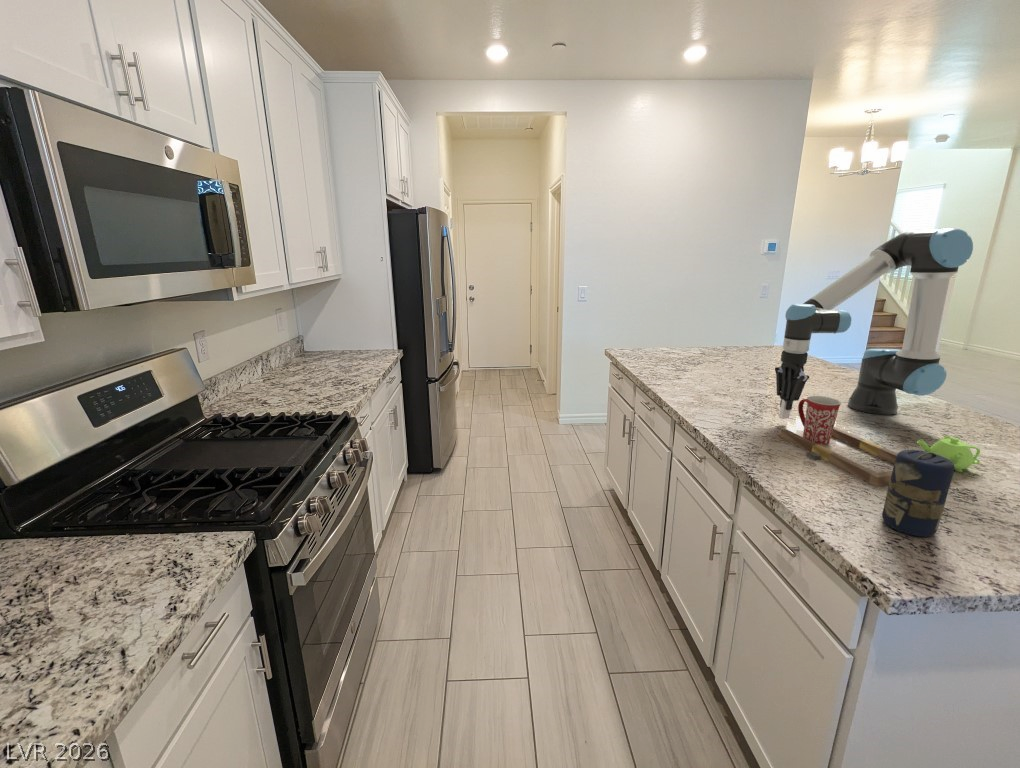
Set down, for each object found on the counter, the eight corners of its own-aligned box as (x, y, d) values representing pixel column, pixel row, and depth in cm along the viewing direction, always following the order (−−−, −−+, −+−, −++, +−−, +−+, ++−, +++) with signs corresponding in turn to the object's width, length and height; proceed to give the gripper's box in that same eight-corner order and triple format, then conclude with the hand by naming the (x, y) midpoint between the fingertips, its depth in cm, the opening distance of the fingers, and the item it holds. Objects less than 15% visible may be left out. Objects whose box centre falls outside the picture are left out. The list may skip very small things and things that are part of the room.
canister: (869, 516, 109) (886, 444, 104) (908, 514, 109) (926, 442, 104) (906, 541, 99) (927, 463, 94) (948, 539, 100) (970, 460, 95)
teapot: (986, 473, 129) (994, 444, 127) (953, 477, 127) (961, 448, 124) (941, 456, 140) (949, 429, 137) (910, 460, 137) (917, 432, 135)
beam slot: (836, 431, 159) (838, 424, 158) (944, 477, 126) (947, 469, 126) (771, 437, 154) (772, 430, 153) (866, 487, 122) (868, 478, 121)
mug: (840, 444, 148) (848, 403, 145) (816, 446, 146) (823, 405, 143) (807, 429, 160) (814, 391, 156) (785, 432, 158) (791, 393, 155)
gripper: (771, 347, 163) (761, 412, 170) (800, 355, 151) (788, 425, 158) (790, 346, 165) (779, 410, 171) (820, 354, 153) (808, 423, 159)
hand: (784, 417), depth 165 cm, fingers closed
